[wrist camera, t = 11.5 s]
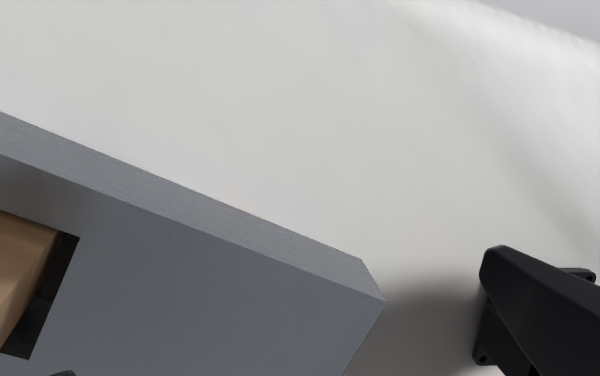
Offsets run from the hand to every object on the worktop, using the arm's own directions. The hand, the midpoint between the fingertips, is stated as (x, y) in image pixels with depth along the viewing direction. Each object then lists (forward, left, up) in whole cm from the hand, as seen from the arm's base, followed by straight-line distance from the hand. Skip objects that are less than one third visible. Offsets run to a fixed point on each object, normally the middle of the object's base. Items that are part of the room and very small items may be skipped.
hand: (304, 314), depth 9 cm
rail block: (+6, +6, -13) cm, 15 cm away
